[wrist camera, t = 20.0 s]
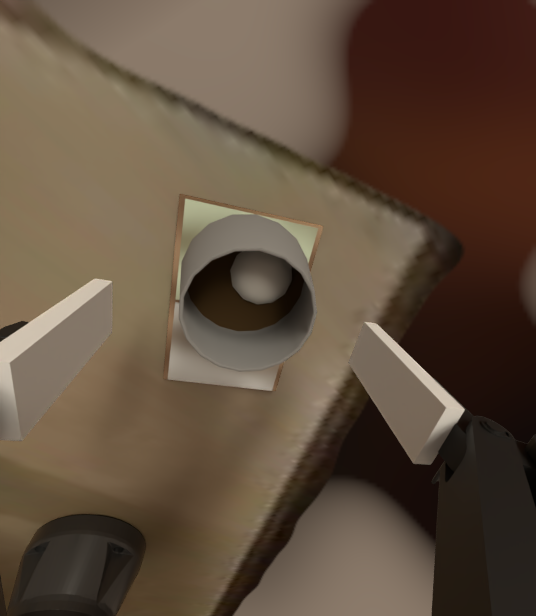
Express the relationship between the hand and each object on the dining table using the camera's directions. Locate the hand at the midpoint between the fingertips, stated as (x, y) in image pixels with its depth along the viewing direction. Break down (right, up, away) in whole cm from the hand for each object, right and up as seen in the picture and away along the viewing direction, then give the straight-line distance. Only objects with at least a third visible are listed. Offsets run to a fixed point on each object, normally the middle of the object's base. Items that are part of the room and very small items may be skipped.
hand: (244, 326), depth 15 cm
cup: (-1, +5, +10) cm, 11 cm away
